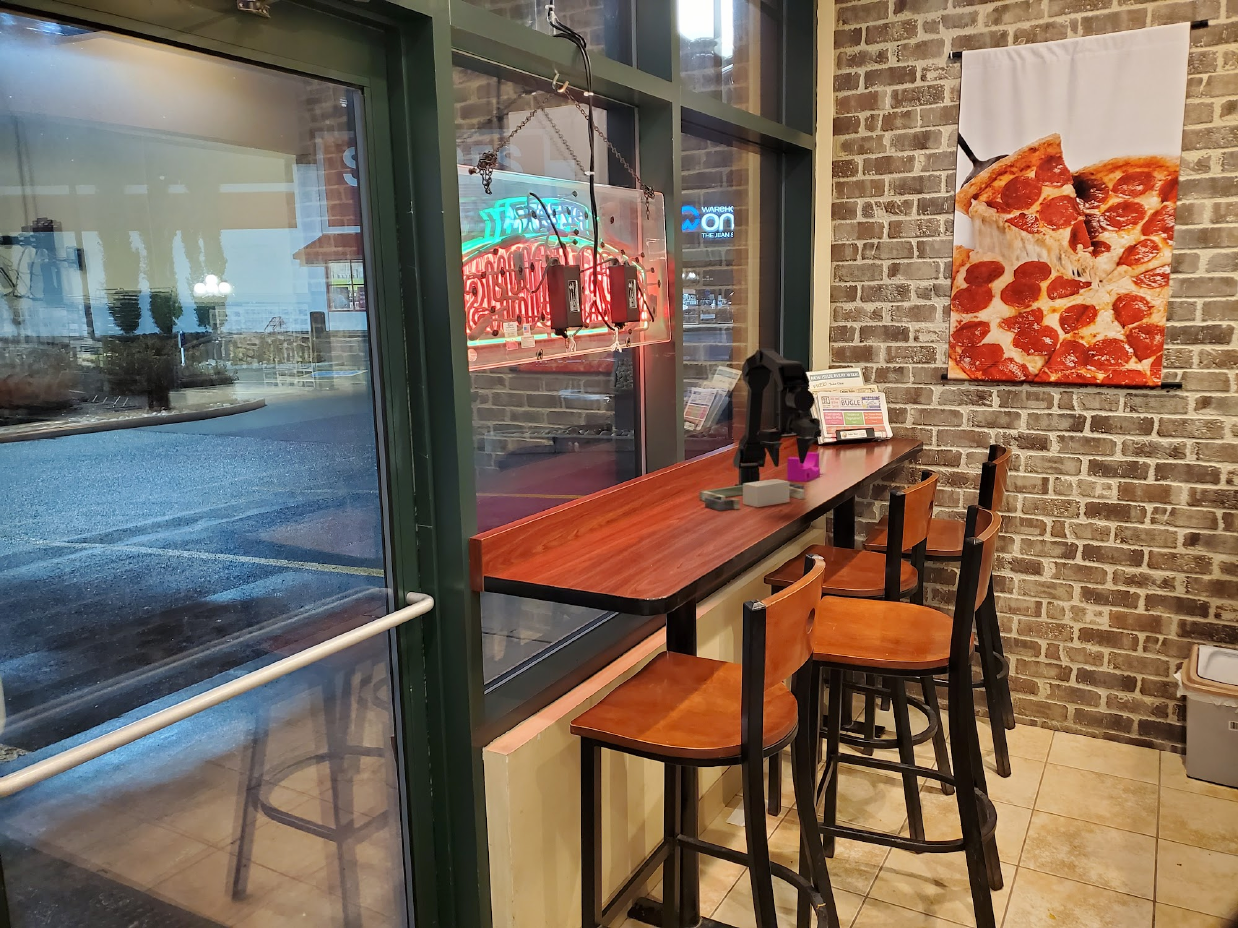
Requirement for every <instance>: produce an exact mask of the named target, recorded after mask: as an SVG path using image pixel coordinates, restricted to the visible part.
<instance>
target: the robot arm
mask: <svg viewBox="0 0 1238 928" xmlns="http://www.w3.org/2000/svg"><path fill="white" fill-rule="evenodd" d="M741 374H742V375H741V376H742V380H743V382H744V384H745V386H746V388H747V395H746V396H747V397H746V409H745V410H746V411H745V425H744V427H745V428H744V435H743V436H742V438H741V439H739V441H738V444H737V445H738V446H737V449H736V452H735V454H734V457H733V460H732V462H733V467H734V468H736V469H738V483H735V484H734V486H740V485H743V484H744V483H751V482H757V481H761V475H760V468H765V464H766V457H767V452H768V455H769V457H770V459H771V461H772V464H773V465H774V467H776V468H778V467H779V465H780V448H781V446H782V445H783V442H780V441H781V440H782V439H783V438H784V439H786V438H792V437H793V438H794V437H796V439H795V440H796V446H797V454H798V458H799V460H800V463H802V464H804V461H805V458H806V456H807V453H808V452H809V449H810V447H811V446H812V444H813V443H814V442H816V441H818V439H819V438H821V437H822V429H821V424H820V423H821V422H820V419H819V418H818V417H812V418H810V419H806V418H805V414H804V412H807V411H809V410H811V409H812V408H813V406H814V404H815V397H814V394H813V392H811V391H810V390H808V388H810V378H809V376H808V374H807V372H806V369H805V366H804V365H803V363H802V361H796V360H789V359H788V360H787V358H785V357H783V356H782V355H780V354H779V353H777V351H776V349H773V348H759V349H756V351H755V353H753V354H752V355H750V356H749V357H747V358H746V359H745V361H744V362H743V364H742V367H741ZM772 374H773V379H775V381H776V383H777V385H778V387H777V389H776V390H777V391H778V411H776V412H775V416H776V417H778V426H776V427H775V430H774V429H762V418H763V417H762V416H763V403H764V402H763V401H764V391H765V390H766V388H767V387H768V385H769V384H770V382H771V376H772Z"/></svg>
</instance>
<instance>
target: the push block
mask: <svg viewBox="0 0 1238 928" xmlns="http://www.w3.org/2000/svg"><path fill="white" fill-rule="evenodd" d="M790 483H791V482H790V480H783V479H777V478H774V479H773V478H772V479H765V480H760V481H757V482H751V483H744V484H743V495H742V504H743V505H746V506H751V507H754V508H759V507H760V508H761V507H766V506H772V505H778V504H784V503H785V504H786V503H789V502H790V497H789V488H790Z"/></svg>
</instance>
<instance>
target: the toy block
mask: <svg viewBox="0 0 1238 928" xmlns="http://www.w3.org/2000/svg"><path fill="white" fill-rule="evenodd" d="M786 459H787V461H786V462H787V464H786V465H787V467H786V468H787V472H786V473H787V474H786V475H787V476H786V481H789V482H790V481H791V482H801V483H802V482H805V483H807V482H809V481H810V480H811V481H812V480H814V479H817V478H819V477H820V475H821V470H820V469H821V468H820V452H809V451H808V453H807V456H806V458H805V461H804V463H803V464H802V463H800V460H799V457H793V456H790V457H787V458H786Z"/></svg>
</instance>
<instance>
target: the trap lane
mask: <svg viewBox="0 0 1238 928" xmlns="http://www.w3.org/2000/svg"><path fill="white" fill-rule="evenodd" d="M804 487H805V485H803V484H800V483H799V484H798V483H794V482H790V488H789V498H794V499H799V500H802V499H803V500H804V499H805V498H806V496H805V495H806V493H805V492H806V491H805V488H804ZM698 494H699V496H698V497H699V499H698V500H700V501H703V502H704V507H705V508H709V509H713V510H715V511H726V510H727V511H728V510H732V509H733V510H738V509H739V510H740V509H741V508H740V505H741V504H740V503H741V502H740V499H737V498H734V496H743V485H740V486H735V485H733V486H728V487H727V486H726V487H720V488H713V489H712V488H711V489H706V490H705V489H704V490H700V491H699V493H698ZM728 497H733V498H728ZM726 498H727V499H726Z"/></svg>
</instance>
